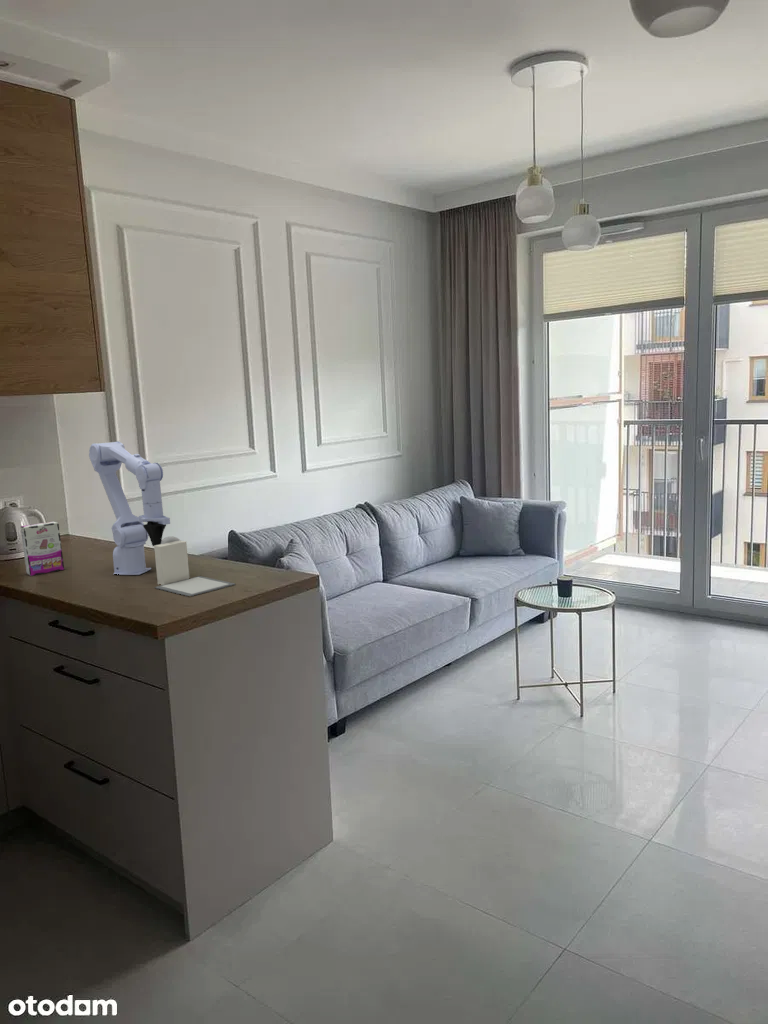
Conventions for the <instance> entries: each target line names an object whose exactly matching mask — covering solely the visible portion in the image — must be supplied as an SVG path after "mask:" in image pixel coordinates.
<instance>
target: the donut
mask: <svg viewBox="0 0 768 1024" xmlns="http://www.w3.org/2000/svg"><path fill="white" fill-rule="evenodd" d="M179 540H180V541H182V540H181V539H180V538H178V537H176V536H166V537H164V538H162V541H161V544H165V543H169V542H174V541H179Z"/></svg>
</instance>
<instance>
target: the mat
mask: <svg viewBox="0 0 768 1024" xmlns="http://www.w3.org/2000/svg"><path fill="white" fill-rule="evenodd" d="M189 578H190V579H185V580H181V581H177V582H173V583H169V584H165V585H157V586H154V589H155V588H156V590H159V589H160V591H163V590H164V592H167V591H168V593H171V592H172V593H171V594H175V593H176V595H179V594H181V595H180V596H183V595H185V596H184V597H187V596H192V597H195V596H194V595H196V596H199V595H198V594H200V595H203V594H202V593H204V594H207V593H210V591H211V592H214V591H213V590H215V591H218V589H219V590H222V589H226V588H229V586H230V587H232V585H233V586H236V583H234V582H229V581H225V580H222V579H221V580H220V579H217V578H211V577H206V576H201V575H198V576H194V577H189ZM225 587H226V588H225ZM206 592H207V593H206Z"/></svg>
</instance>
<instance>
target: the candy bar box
mask: <svg viewBox="0 0 768 1024" xmlns="http://www.w3.org/2000/svg"><path fill="white" fill-rule="evenodd" d="M20 534H21V542H22V548H23V557H24V563H25V570H26V571H25V572H26V574H27V575H29V576H30V577H31V576H36V575H37V576H38V575H42V574H43V575H44V574H49V573H53V572H59V570H60V571H64V570H65V563H64V556H63V555H64V554H63V548H62V542H61V540H62V539H61V531H60V524H59V522H57V521H49V522H48V521H47V522H40V523H35V524H28V525H21V526H20Z"/></svg>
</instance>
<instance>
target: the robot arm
mask: <svg viewBox="0 0 768 1024" xmlns="http://www.w3.org/2000/svg"><path fill="white" fill-rule="evenodd" d="M88 457H89V460H90V461H91V465H92V467H93V470H94V472H96V473H97V474H98V476H99V479H100V481H101V484H102V485H103V488H104V491H105V494H106V496H107V498H108V501H109V504H110V506H111V508H112V509H111V510H112V511H113V514H114V515H115V519H116V520H115V521H114V523H113V524H112V526H111V531H112V537H113V541H114V544H115V545H116V546H115V547H114V548H113V551H112V560H113V561H112V564H113V571H114V572H113V574H112V575H114V574H117V576H120V575H121V576H139V575H142V574H145V573H146V572H148V571H151V570H152V567H147V566H146V557H145V556H146V555H145V547H144V546H145V545H146V544H147V543H146V542H147V541H148V539H149V540H150V542H151V545H152V547H154V546H155V545H160V544H161V541H162V540H163V534H164V531H165V529H166V527H167V525H170V524H171V518H170V517H168V516H166V515H164V509H163V499H162V490H161V481H162V480H163V478H164V471H163V467H162V466H161V464H160V463H159V462H152V463H151V462H150V461H149V460H148V459H146V458H143V457H142V456H141V454H139V453H134V454H132V453H131V452H129V451H128V450H127V449H126V448H125V444H124V443H122V442H121V441H111V442H102V443H101V442H100V443H99V442H98V443H96V442H94V443H91V444H90V446H89V451H88ZM122 463H123V464H124V466H125V468H126V470H127V471H128V472H130V473H131V474H133V475H134V476H135V479H136V480H137V482H138V487H139V490H141V498H142V507H143V508H142V509H143V514H142V515H138V516H137V515H134V514H133V512H132V510H131V507H130V503H129V502H128V500H127V497H126V495H125V492H124V489H123V486H122V485H121V483H120V480H119V478H118V475H117V471H118V470H120V469H121V467H122ZM145 523H146V524H145ZM118 574H119V575H118ZM114 576H115V575H114Z"/></svg>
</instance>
